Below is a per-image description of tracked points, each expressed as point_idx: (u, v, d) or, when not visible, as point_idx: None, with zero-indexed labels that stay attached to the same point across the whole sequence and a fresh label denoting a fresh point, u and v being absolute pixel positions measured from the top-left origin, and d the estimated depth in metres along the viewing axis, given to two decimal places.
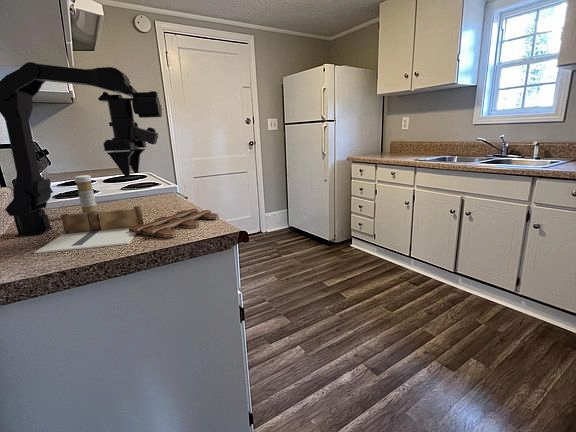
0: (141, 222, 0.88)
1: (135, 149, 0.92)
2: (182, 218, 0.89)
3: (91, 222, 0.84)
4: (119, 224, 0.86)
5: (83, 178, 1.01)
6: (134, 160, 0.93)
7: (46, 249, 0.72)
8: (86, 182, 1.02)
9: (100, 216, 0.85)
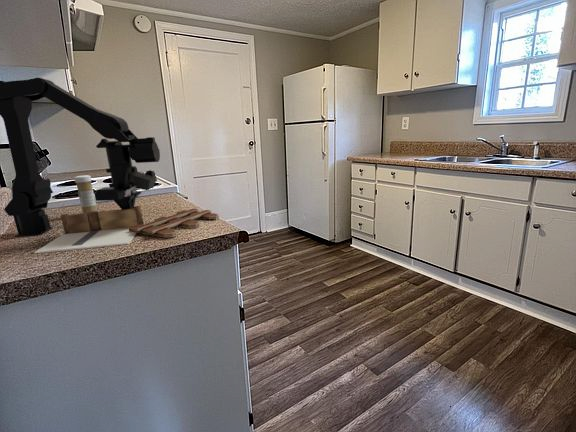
0: (141, 222, 0.88)
1: None
2: (182, 218, 0.89)
3: (91, 222, 0.84)
4: (119, 224, 0.86)
5: (83, 178, 1.01)
6: None
7: (46, 249, 0.72)
8: (86, 182, 1.02)
9: (100, 216, 0.85)
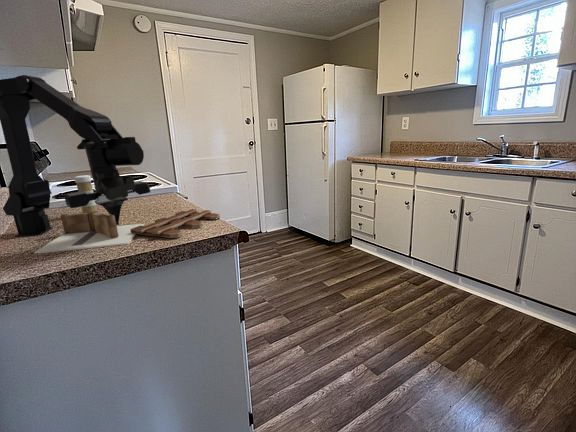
0: (112, 234, 0.78)
1: (114, 199, 0.80)
2: (184, 218, 0.88)
3: (91, 222, 0.84)
4: (102, 230, 0.81)
5: (83, 178, 1.01)
6: None
7: (46, 249, 0.72)
8: (86, 182, 1.02)
9: (93, 218, 0.83)
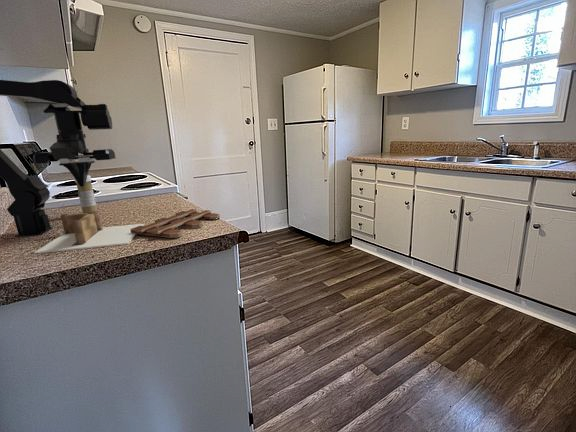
0: (76, 240, 0.74)
1: None
2: (184, 218, 0.88)
3: None
4: None
5: None
6: None
7: (46, 249, 0.72)
8: (86, 182, 1.02)
9: None
